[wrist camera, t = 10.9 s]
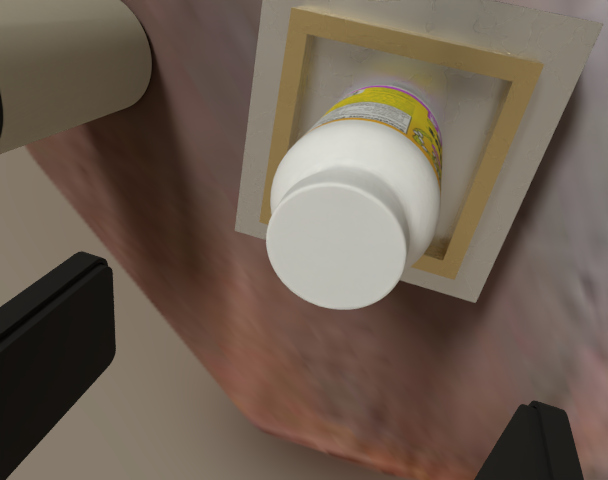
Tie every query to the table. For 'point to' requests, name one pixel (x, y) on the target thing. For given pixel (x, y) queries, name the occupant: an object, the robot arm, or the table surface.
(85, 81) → the travel mug
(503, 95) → the white gold-rimmed box
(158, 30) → the table surface
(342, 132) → the supplement bottle
